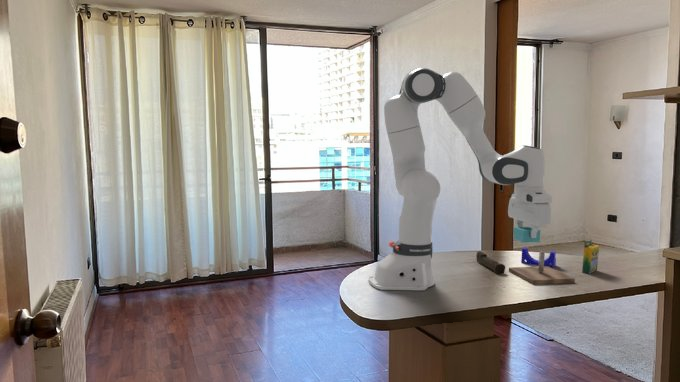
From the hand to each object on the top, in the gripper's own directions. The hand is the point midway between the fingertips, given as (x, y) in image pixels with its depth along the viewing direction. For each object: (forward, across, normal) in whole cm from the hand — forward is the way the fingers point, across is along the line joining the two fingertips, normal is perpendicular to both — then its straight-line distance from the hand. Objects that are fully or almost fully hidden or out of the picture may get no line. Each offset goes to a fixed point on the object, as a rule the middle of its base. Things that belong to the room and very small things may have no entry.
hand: (526, 235), depth 165 cm
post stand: (+17, -8, +11) cm, 22 cm away
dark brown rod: (+18, -23, -2) cm, 29 cm away
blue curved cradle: (+18, -25, +21) cm, 37 cm away
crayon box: (+18, -12, +34) cm, 41 cm away
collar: (+2, 0, 0) cm, 2 cm away
